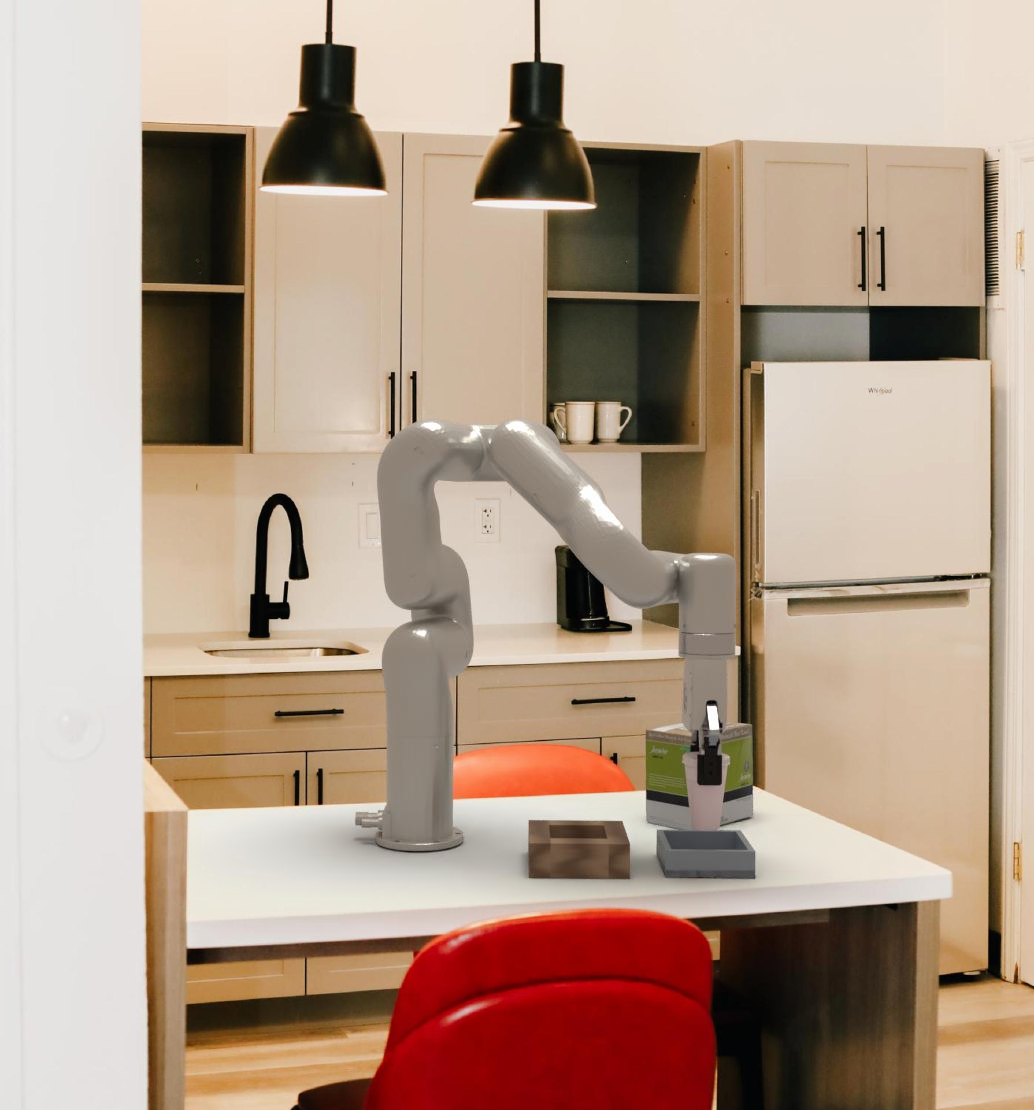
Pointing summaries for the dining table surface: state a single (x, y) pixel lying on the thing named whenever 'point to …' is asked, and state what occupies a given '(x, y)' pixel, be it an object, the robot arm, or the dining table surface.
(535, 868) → the socket holder
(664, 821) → the tea box
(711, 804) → the smoothie
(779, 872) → the dining table surface
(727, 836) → the tray
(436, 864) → the dining table surface
